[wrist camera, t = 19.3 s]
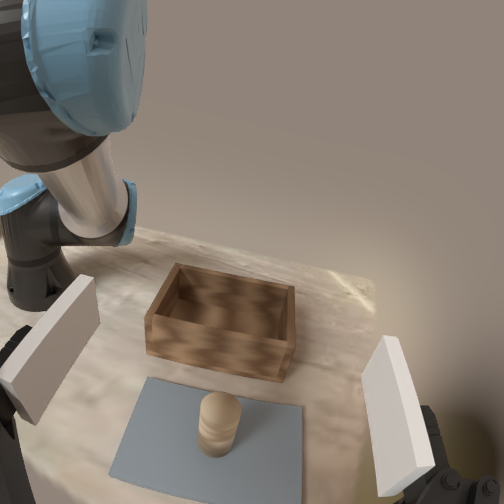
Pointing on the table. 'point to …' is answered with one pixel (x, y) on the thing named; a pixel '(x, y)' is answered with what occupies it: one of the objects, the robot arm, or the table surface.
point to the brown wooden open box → (223, 323)
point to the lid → (212, 446)
